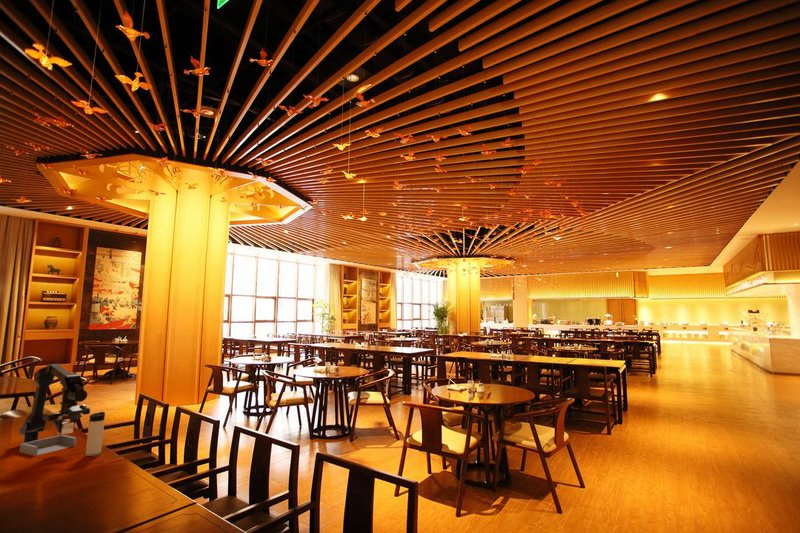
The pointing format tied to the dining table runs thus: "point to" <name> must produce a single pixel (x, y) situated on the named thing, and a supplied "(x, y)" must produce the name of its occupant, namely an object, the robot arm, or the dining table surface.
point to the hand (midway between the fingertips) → (65, 431)
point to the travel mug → (95, 434)
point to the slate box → (47, 445)
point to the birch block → (67, 428)
